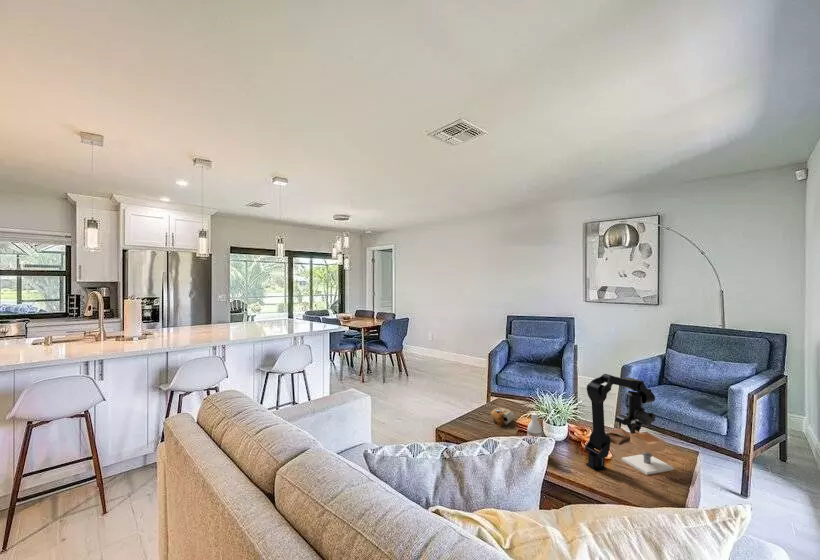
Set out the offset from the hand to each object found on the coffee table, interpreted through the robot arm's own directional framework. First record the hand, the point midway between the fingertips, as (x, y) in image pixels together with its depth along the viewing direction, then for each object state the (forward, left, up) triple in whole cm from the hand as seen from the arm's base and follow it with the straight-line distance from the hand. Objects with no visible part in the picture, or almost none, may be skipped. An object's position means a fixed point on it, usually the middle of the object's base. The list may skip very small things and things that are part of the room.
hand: (634, 435), depth 185 cm
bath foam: (-45, +18, -11) cm, 50 cm away
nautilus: (-42, +57, -12) cm, 72 cm away
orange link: (0, -5, -2) cm, 5 cm away
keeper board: (0, -7, -11) cm, 13 cm away
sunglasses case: (+11, +20, -12) cm, 26 cm away
